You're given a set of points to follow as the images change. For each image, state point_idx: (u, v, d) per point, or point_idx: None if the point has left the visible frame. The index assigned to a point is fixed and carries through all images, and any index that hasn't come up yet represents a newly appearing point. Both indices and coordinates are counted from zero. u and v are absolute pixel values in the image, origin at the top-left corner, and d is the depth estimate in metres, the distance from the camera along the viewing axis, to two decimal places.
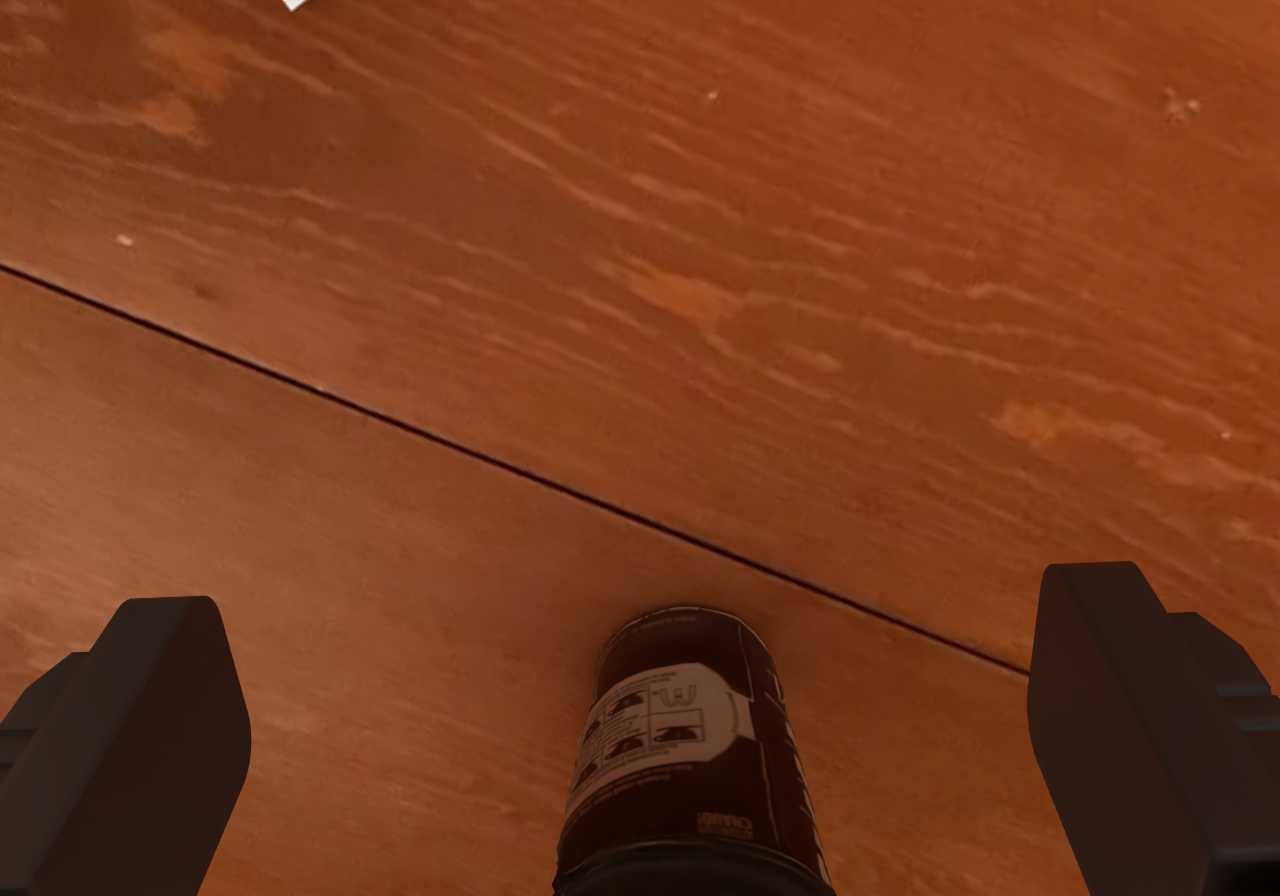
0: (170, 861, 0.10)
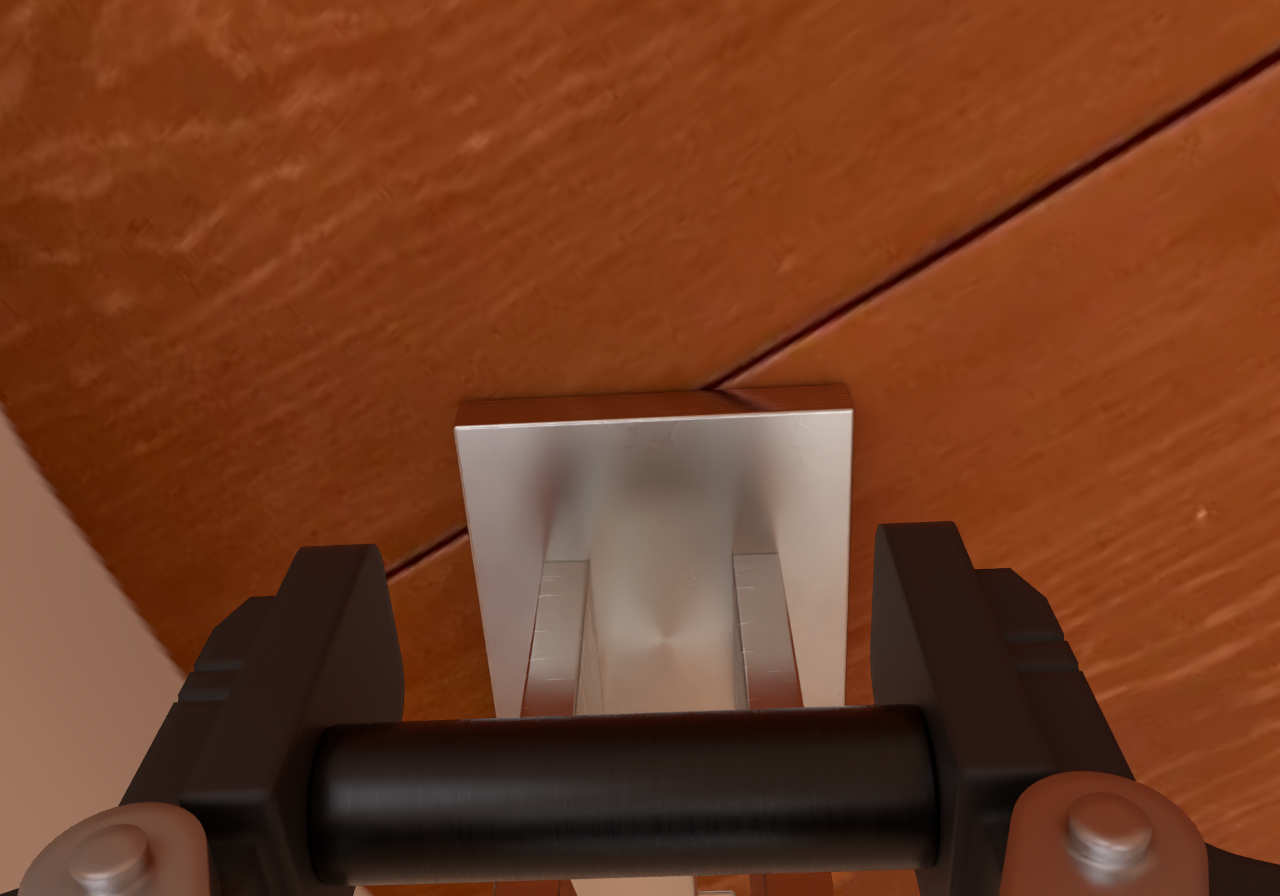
0: None
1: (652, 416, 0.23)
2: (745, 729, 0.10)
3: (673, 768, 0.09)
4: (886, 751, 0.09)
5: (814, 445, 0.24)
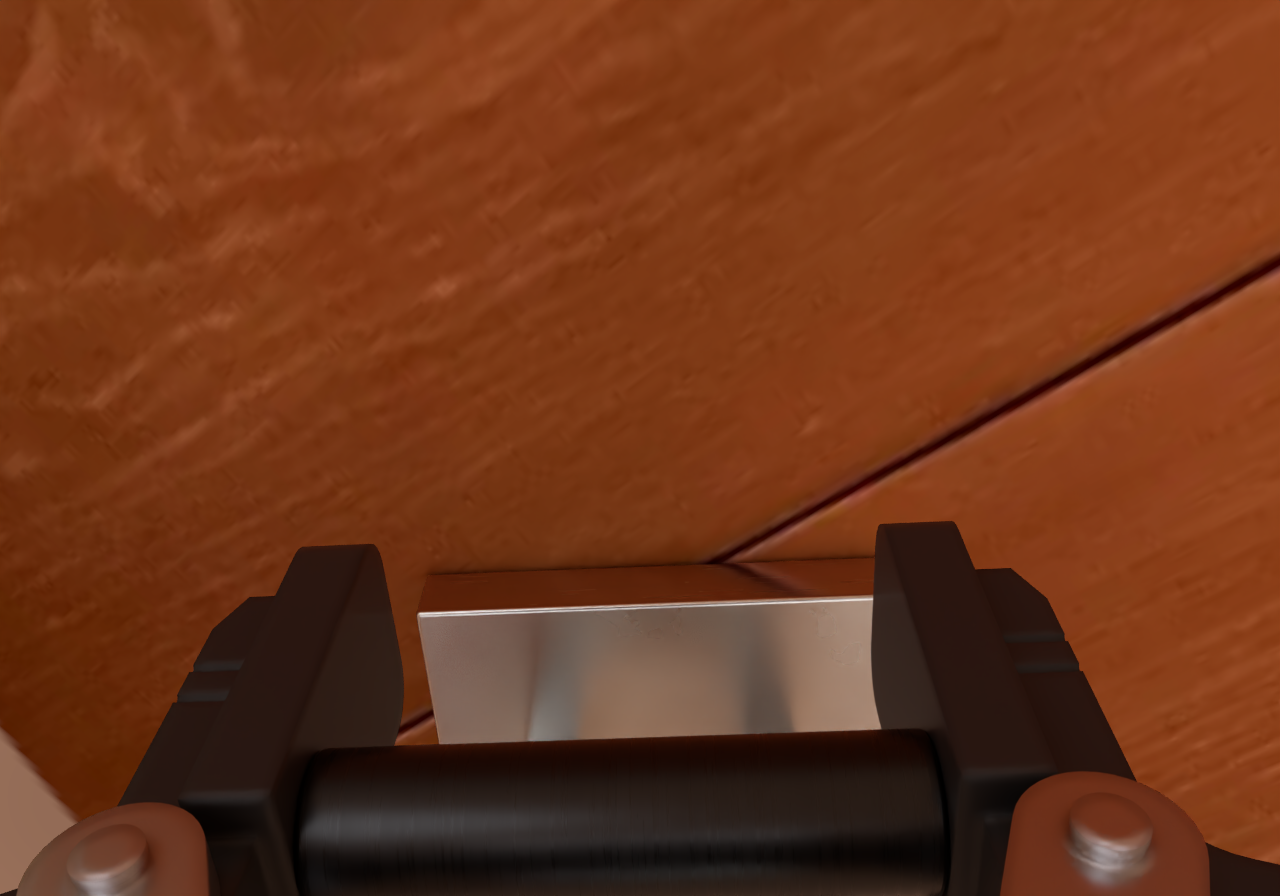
0: None
1: (651, 602, 0.20)
2: (745, 737, 0.10)
3: (672, 762, 0.09)
4: (887, 747, 0.09)
5: (842, 635, 0.20)
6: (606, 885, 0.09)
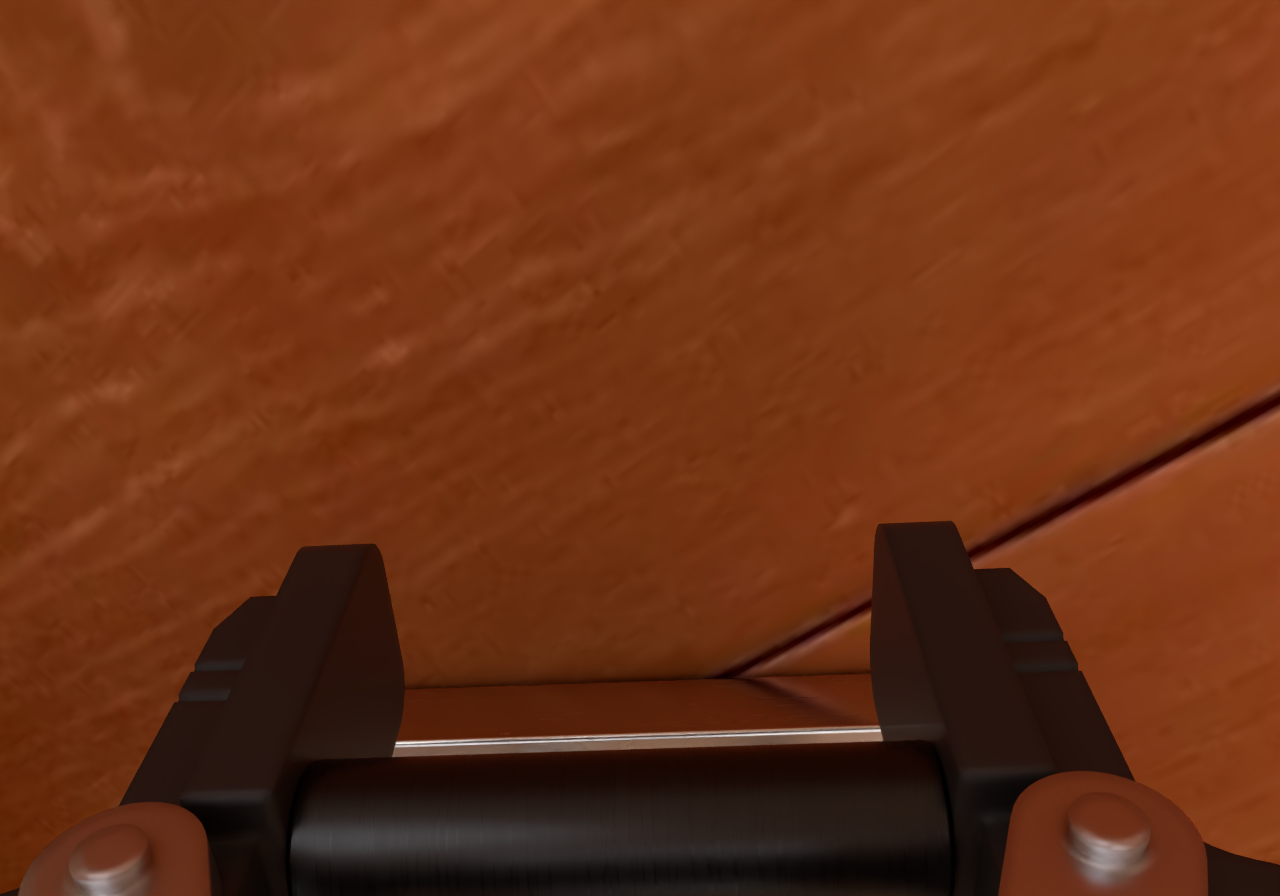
0: None
1: (650, 732, 0.16)
2: None
3: (672, 756, 0.09)
4: (886, 745, 0.09)
5: None
6: (602, 873, 0.09)
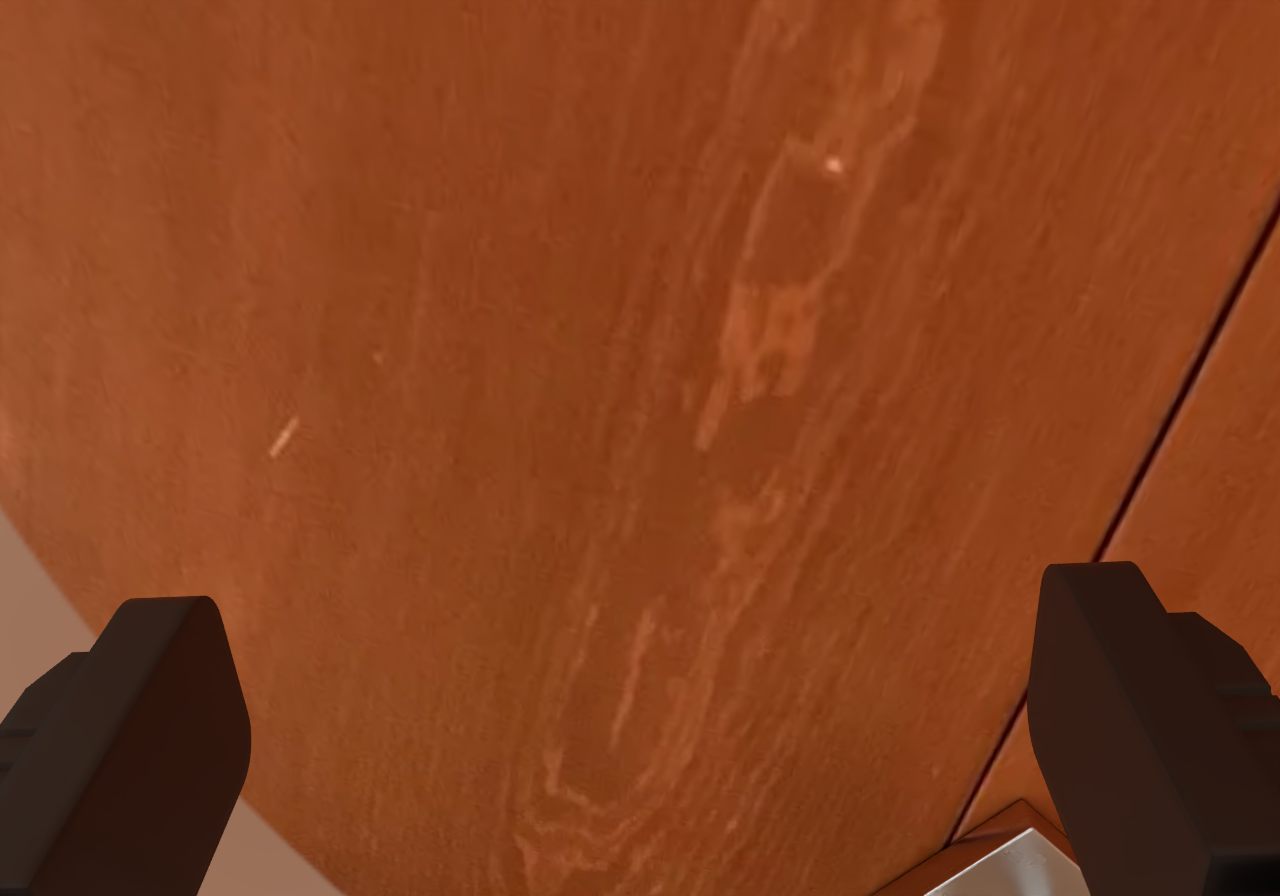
0: (170, 862, 0.10)
1: (925, 894, 0.36)
2: None
3: None
4: None
5: (1027, 855, 0.35)
6: None
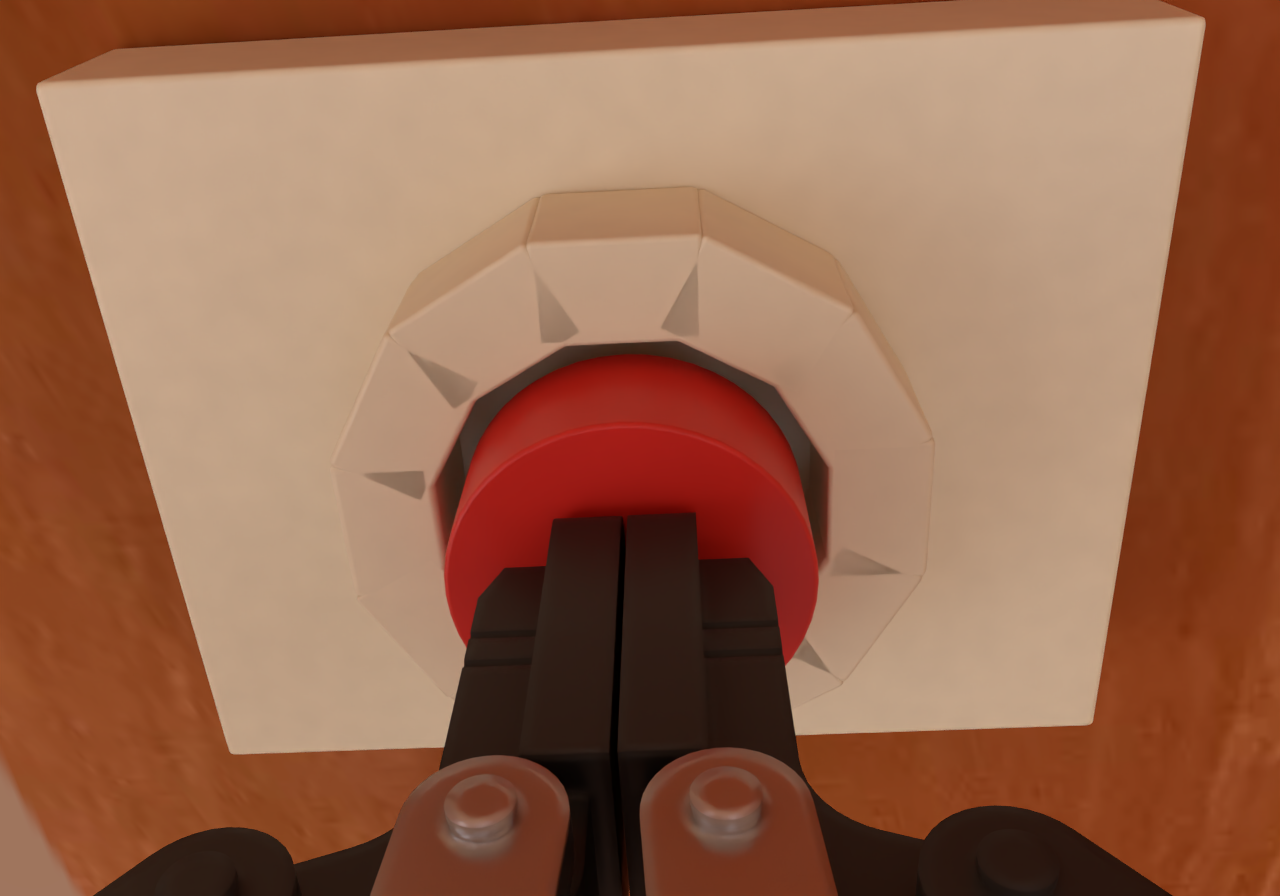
0: None
1: None
2: None
3: None
4: None
5: None
6: None
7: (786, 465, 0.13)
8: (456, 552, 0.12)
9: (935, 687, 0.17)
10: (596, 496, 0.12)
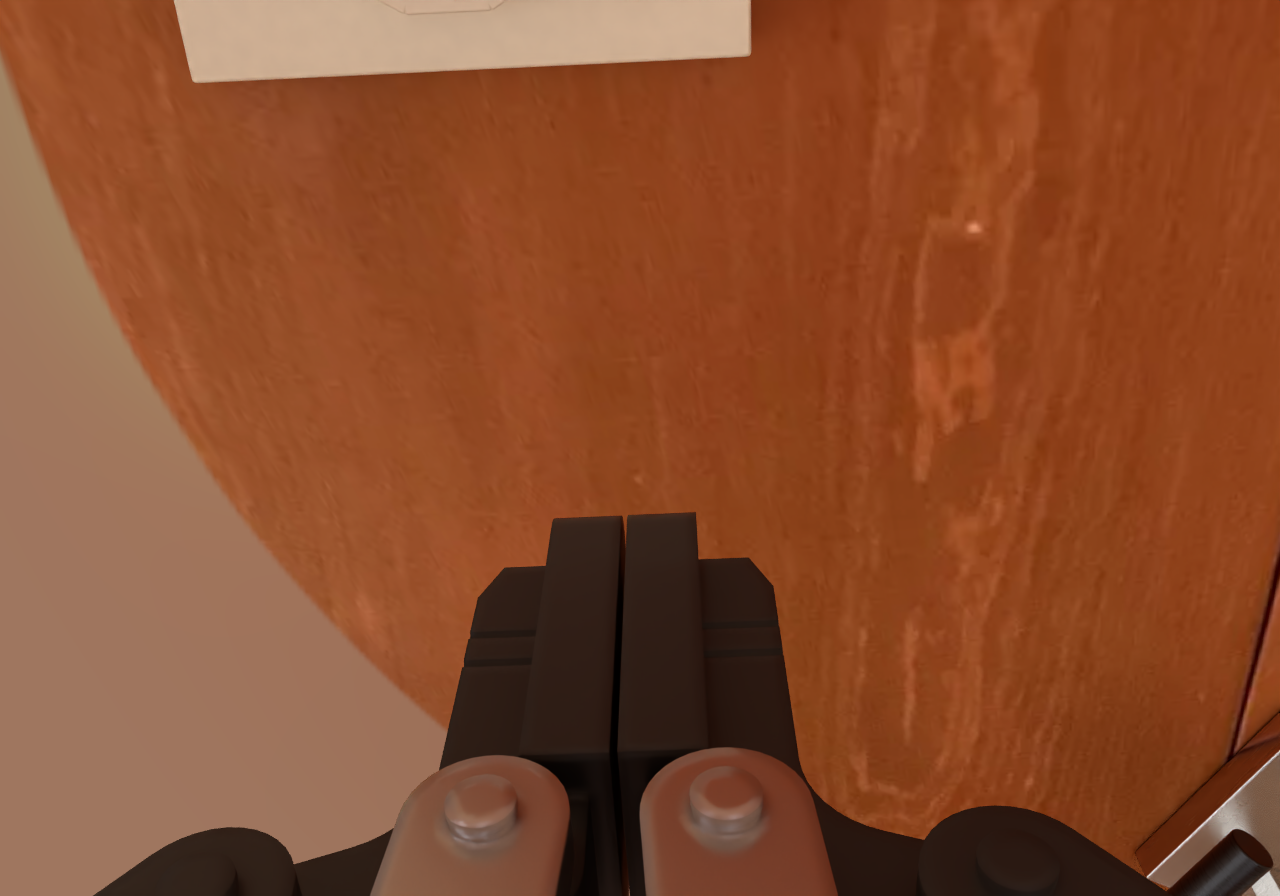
0: None
1: (1221, 805, 0.40)
2: (1198, 861, 0.34)
3: (1183, 879, 0.34)
4: (1223, 841, 0.33)
5: None
6: None
7: None
8: None
9: (645, 22, 0.27)
10: None
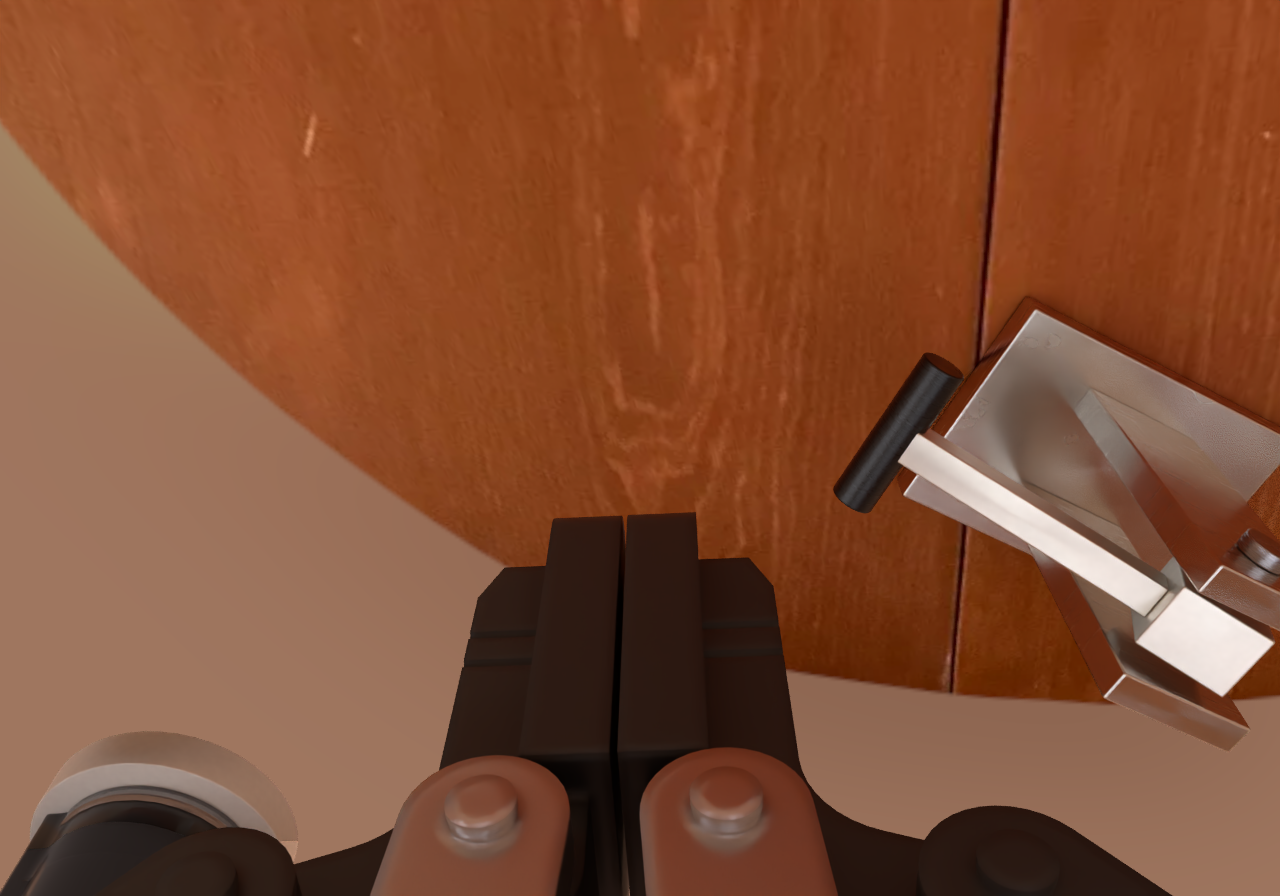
0: None
1: (965, 405, 0.40)
2: None
3: (885, 410, 0.34)
4: (917, 363, 0.34)
5: (1041, 338, 0.39)
6: (890, 443, 0.34)
7: None
8: None
9: None
10: None
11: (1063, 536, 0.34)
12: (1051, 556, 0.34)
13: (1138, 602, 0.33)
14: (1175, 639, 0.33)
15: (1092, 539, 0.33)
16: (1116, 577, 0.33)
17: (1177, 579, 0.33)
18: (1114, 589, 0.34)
